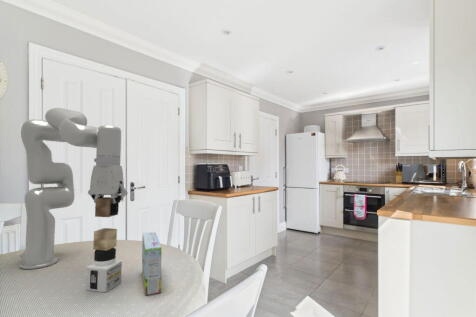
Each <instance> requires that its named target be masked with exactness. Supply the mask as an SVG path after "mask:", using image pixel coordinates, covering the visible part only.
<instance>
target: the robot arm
mask: <svg viewBox="0 0 476 317" xmlns="http://www.w3.org/2000/svg"><path fill="white" fill-rule="evenodd" d="M44 119H45V120H43V119H29V120H25V122H23V124H22V126H21V129H20V137H21V141H22V144H23V147H24V149H25V151H26V152H25V153H26V167H27V178H28V182H30V183H31V184H33V185H57V186H45V187H43V186H42V187H33V188H32V189H30V190H28V191H27V192H26V193H25V195H24V206H25V213H26V223H25V224H26V229H25V230H26V231H25V246H24V247H25V251H23V252H22V254H20V255H18V257H19V258H20V259H22V261H21V262H20V263H19V268H20V269H23V270H33V269H41V268H45V267H49V266H51V265H55V264H56V263H57V262H59V257H58V256H56V255H55V234H56V218H55V217H54V215H53V214H52V213H51V211H50V210H55V209H63V208H68V207H70V206H72V205H73V203H74V201H75V187H74V185H75V184H74V183H75V182H74V173H73V169H72V167H71V166H70V165H69V164H67V163H66V162H54V161H53V154H52V151H51V149H50V147H49V146H48V144H46V143H45V142H44V141H46V142H48V141H49V142H56V143H57V142H58V143H67V144H69V145H71V146H75V147H78V148H79V147H82V148H91V149H92V148H93V149H96V151H95V152H96V153H95V154H96V156H95V158H93V161H94V163H95V165H93V167H92V170H91V175H90V185H89V190H88V191H87V194H88V195H89V196H90V197H91V198H92V200H93V203H94V204H95V202H96V199H97V198H103V197H105V196H110V197H111V199H112V204H111V213H110V215H115V216H117V215H116V214H118V215H119V208H120V207H119V205H120V204H119V203H121V201H122V200H123V199H124V198H125V197H126V196H127V195H128V191H127V189H126V188H125V187H124V186H125V185H124V183H125V182H124V172H123V171H124V169H123V166H122V165H121V158H122V157H121V155H122V154H121V150H122V130H121V128H120V127H119V126H115V125H100V126H98V127H96V126H93V125H91V126H90V125H88V118H87V117H86V115H85V114H84V113H83V112H80V111H76V110H72V109H67V108H61V107H53V108H50V109H49V110H47V111H46V113H45V115H44ZM115 197H116V198H115Z"/></svg>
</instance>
